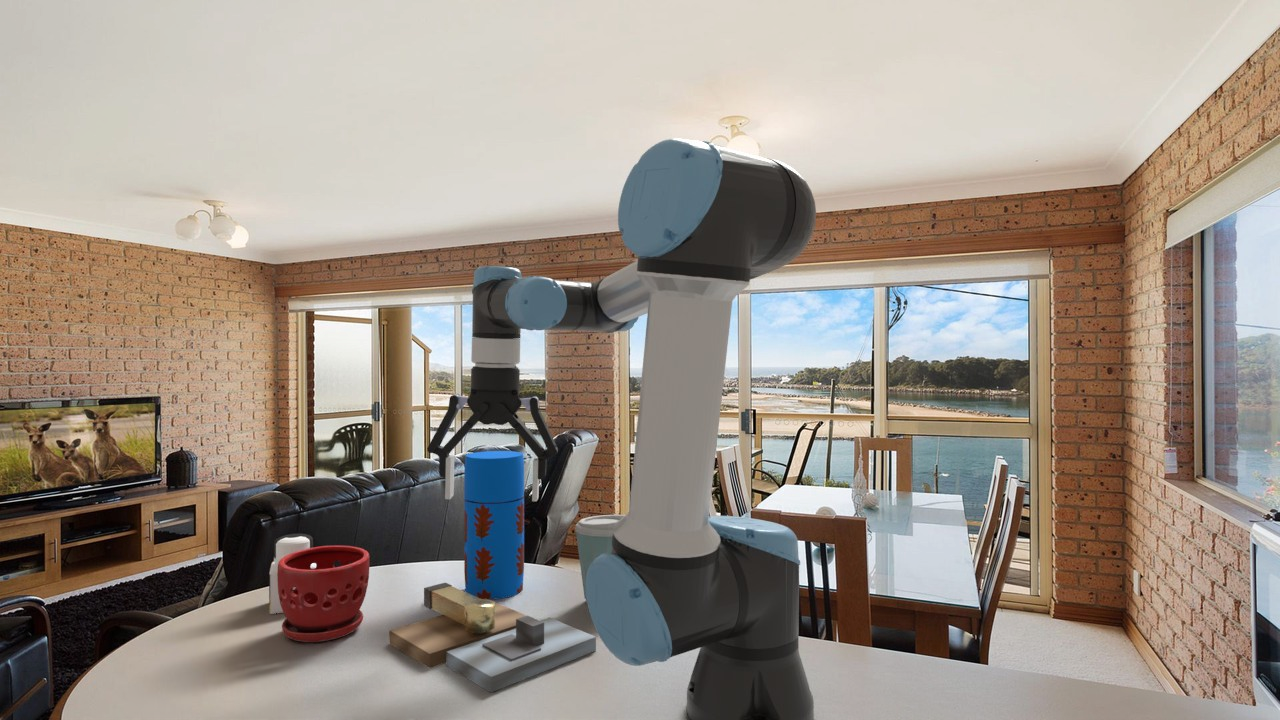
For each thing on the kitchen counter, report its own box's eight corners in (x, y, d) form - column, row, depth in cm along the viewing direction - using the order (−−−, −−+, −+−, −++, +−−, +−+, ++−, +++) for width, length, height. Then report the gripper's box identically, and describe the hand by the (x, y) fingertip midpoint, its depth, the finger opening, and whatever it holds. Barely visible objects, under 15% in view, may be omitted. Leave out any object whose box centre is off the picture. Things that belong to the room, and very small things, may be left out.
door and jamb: (596, 650, 102) (596, 616, 102) (477, 697, 88) (477, 658, 88) (501, 609, 119) (501, 580, 119) (389, 643, 104) (389, 610, 104)
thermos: (510, 601, 123) (510, 459, 123) (454, 597, 125) (454, 457, 125) (532, 582, 133) (532, 451, 133) (480, 578, 135) (480, 450, 135)
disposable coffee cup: (563, 607, 120) (563, 520, 120) (591, 588, 129) (591, 508, 129) (619, 616, 115) (619, 526, 115) (644, 596, 125) (644, 513, 125)
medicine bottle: (271, 601, 123) (271, 533, 123) (316, 595, 126) (316, 529, 126) (269, 615, 116) (269, 543, 116) (316, 608, 119) (316, 538, 119)
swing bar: (500, 627, 104) (500, 604, 104) (475, 635, 100) (475, 611, 100) (446, 601, 114) (446, 581, 114) (422, 608, 111) (422, 587, 111)
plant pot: (257, 644, 104) (257, 564, 104) (317, 613, 117) (317, 542, 117) (332, 653, 101) (332, 570, 101) (386, 620, 114) (386, 547, 114)
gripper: (576, 366, 114) (572, 494, 115) (422, 361, 113) (419, 490, 114) (573, 369, 107) (569, 506, 108) (408, 364, 106) (406, 502, 107)
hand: (492, 498), depth 111 cm, fingers open, 13 cm apart
